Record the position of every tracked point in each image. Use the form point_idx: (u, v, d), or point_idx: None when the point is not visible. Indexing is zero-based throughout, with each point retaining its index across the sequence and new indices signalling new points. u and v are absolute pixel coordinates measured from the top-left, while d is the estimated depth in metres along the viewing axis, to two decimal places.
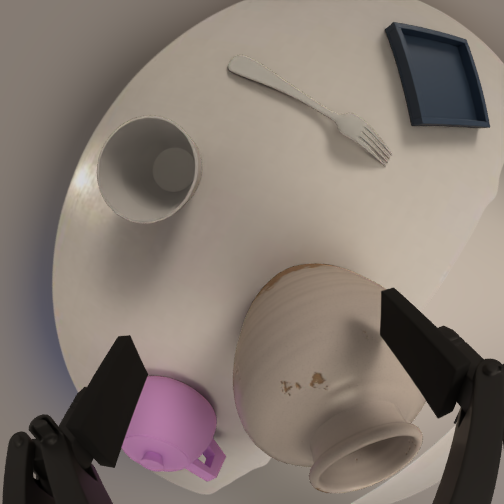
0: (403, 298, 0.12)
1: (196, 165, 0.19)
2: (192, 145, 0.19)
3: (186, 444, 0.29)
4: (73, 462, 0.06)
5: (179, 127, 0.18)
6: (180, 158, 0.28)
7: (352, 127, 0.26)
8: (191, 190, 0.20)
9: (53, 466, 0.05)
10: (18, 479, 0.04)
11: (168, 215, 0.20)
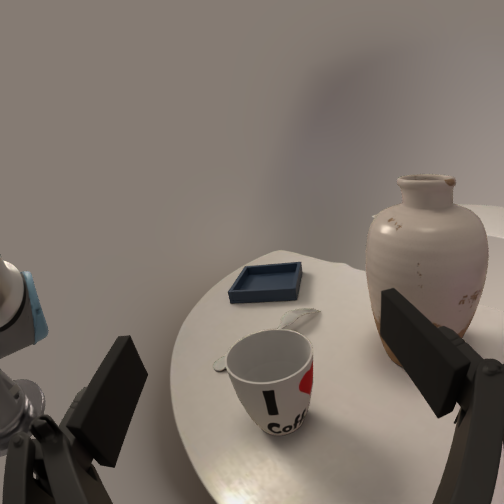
0: (403, 298, 0.12)
1: (282, 329, 0.28)
2: (268, 330, 0.29)
3: None
4: (73, 462, 0.06)
5: (251, 334, 0.28)
6: None
7: (290, 317, 0.45)
8: (298, 333, 0.27)
9: (53, 467, 0.05)
10: (18, 479, 0.04)
11: (310, 345, 0.25)
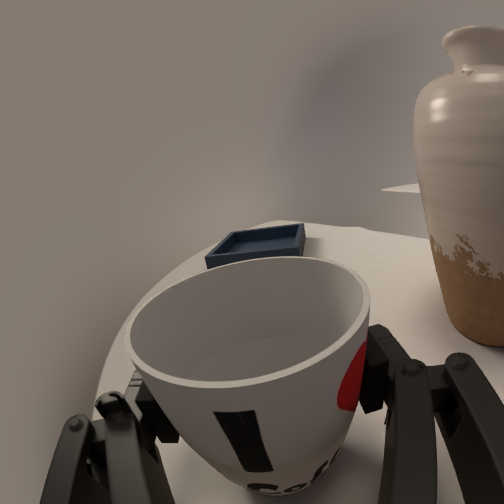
0: None
1: (280, 257, 0.13)
2: (247, 260, 0.13)
3: None
4: (139, 444, 0.07)
5: (211, 269, 0.13)
6: None
7: None
8: (317, 259, 0.12)
9: (115, 447, 0.07)
10: (68, 467, 0.05)
11: (357, 276, 0.09)
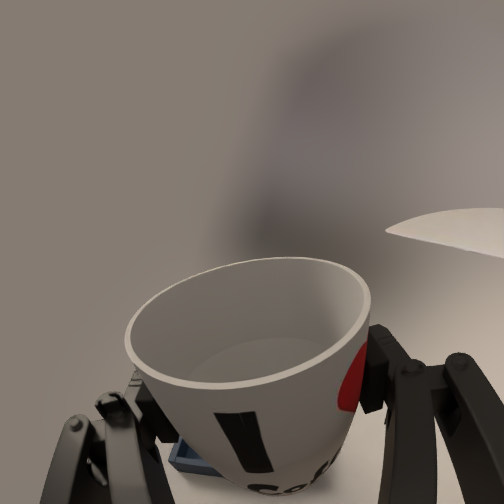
0: None
1: (280, 258, 0.13)
2: (248, 261, 0.13)
3: None
4: (139, 444, 0.07)
5: (211, 270, 0.13)
6: None
7: None
8: (318, 260, 0.12)
9: (115, 447, 0.07)
10: (68, 467, 0.05)
11: (357, 277, 0.09)
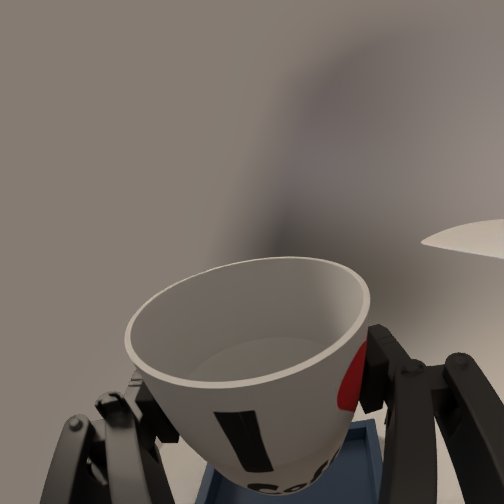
0: None
1: (280, 257, 0.13)
2: (248, 261, 0.13)
3: None
4: (139, 444, 0.07)
5: (211, 270, 0.13)
6: None
7: None
8: (317, 260, 0.12)
9: (115, 447, 0.07)
10: (68, 467, 0.05)
11: (356, 276, 0.09)
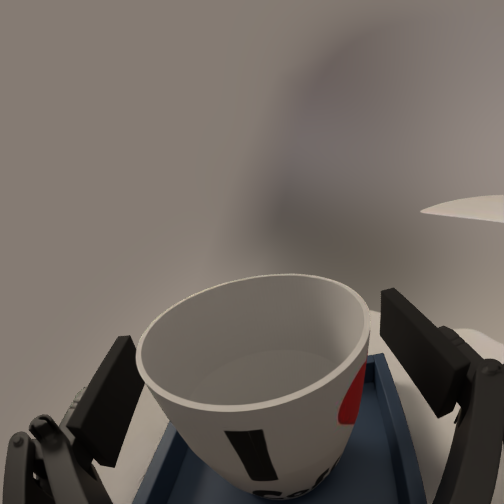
0: (403, 298, 0.12)
1: (283, 274, 0.13)
2: (252, 277, 0.13)
3: None
4: (73, 462, 0.06)
5: (216, 286, 0.13)
6: None
7: None
8: (320, 278, 0.12)
9: (53, 467, 0.05)
10: (18, 479, 0.04)
11: (358, 297, 0.10)
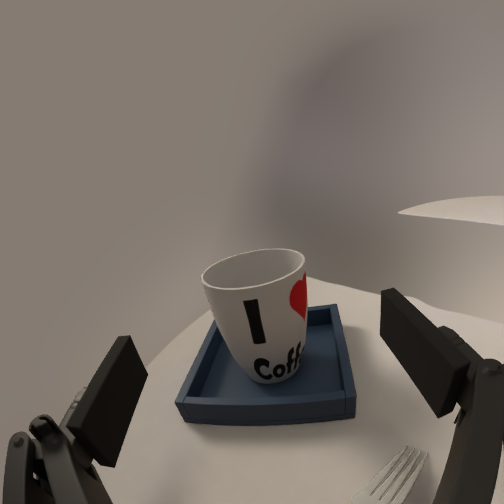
0: (403, 298, 0.12)
1: (269, 249, 0.25)
2: (253, 251, 0.26)
3: None
4: (73, 462, 0.06)
5: (235, 255, 0.26)
6: None
7: None
8: (287, 249, 0.24)
9: (53, 467, 0.05)
10: (18, 479, 0.04)
11: (302, 256, 0.22)
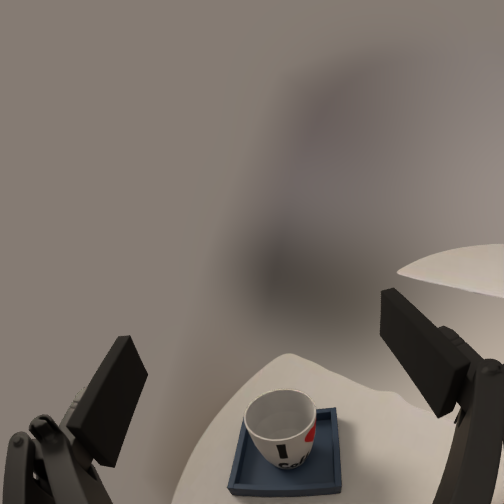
0: (403, 298, 0.12)
1: (290, 389, 0.31)
2: (278, 389, 0.32)
3: None
4: (73, 462, 0.06)
5: (264, 393, 0.32)
6: None
7: None
8: (303, 393, 0.30)
9: (53, 467, 0.05)
10: (18, 479, 0.04)
11: (314, 405, 0.28)
